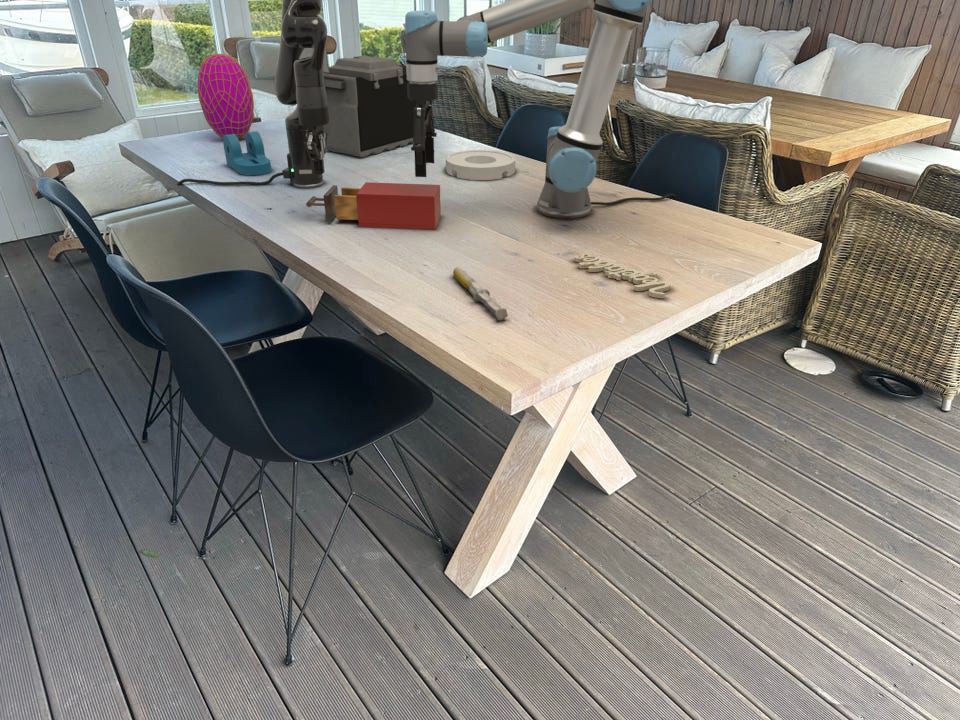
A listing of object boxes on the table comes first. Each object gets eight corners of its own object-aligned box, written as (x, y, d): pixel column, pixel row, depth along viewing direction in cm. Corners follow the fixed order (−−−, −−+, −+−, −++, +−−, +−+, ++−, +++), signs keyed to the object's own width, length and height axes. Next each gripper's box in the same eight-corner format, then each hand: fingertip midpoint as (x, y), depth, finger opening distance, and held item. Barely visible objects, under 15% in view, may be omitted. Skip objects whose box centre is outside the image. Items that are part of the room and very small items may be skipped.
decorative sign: (686, 282, 150) (660, 295, 144) (686, 286, 150) (659, 300, 144) (592, 249, 166) (565, 259, 160) (592, 253, 167) (565, 263, 161)
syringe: (449, 274, 155) (449, 263, 153) (465, 272, 156) (464, 260, 154) (490, 323, 135) (491, 310, 133) (508, 319, 136) (508, 307, 134)
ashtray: (448, 160, 240) (448, 149, 238) (514, 162, 240) (514, 150, 238) (443, 179, 220) (443, 166, 218) (515, 180, 220) (515, 168, 218)
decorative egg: (223, 147, 254) (207, 59, 238) (197, 138, 265) (180, 54, 250) (268, 138, 266) (256, 54, 251) (241, 130, 277) (228, 49, 262)
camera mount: (227, 164, 233) (221, 132, 227) (257, 160, 238) (252, 129, 233) (244, 176, 220) (239, 143, 215) (276, 172, 225) (271, 139, 220)
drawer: (305, 220, 183) (302, 194, 179) (315, 209, 191) (312, 184, 187) (397, 224, 181) (395, 198, 177) (403, 212, 189) (402, 187, 186)
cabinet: (358, 226, 182) (356, 193, 177) (367, 213, 191) (365, 182, 186) (435, 229, 180) (434, 196, 176) (440, 216, 189) (440, 184, 185)
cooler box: (383, 133, 276) (378, 52, 261) (425, 141, 265) (422, 56, 250) (314, 150, 251) (304, 61, 235) (358, 160, 240) (350, 67, 224)
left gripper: (319, 109, 166) (326, 181, 175) (334, 100, 177) (340, 167, 186) (289, 109, 166) (298, 180, 175) (305, 99, 178) (313, 166, 187)
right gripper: (430, 91, 156) (432, 183, 167) (444, 74, 177) (445, 157, 188) (397, 90, 157) (401, 182, 167) (415, 74, 178) (418, 156, 189)
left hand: (319, 173), depth 181 cm, fingers closed
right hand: (425, 169), depth 178 cm, fingers open, 13 cm apart
